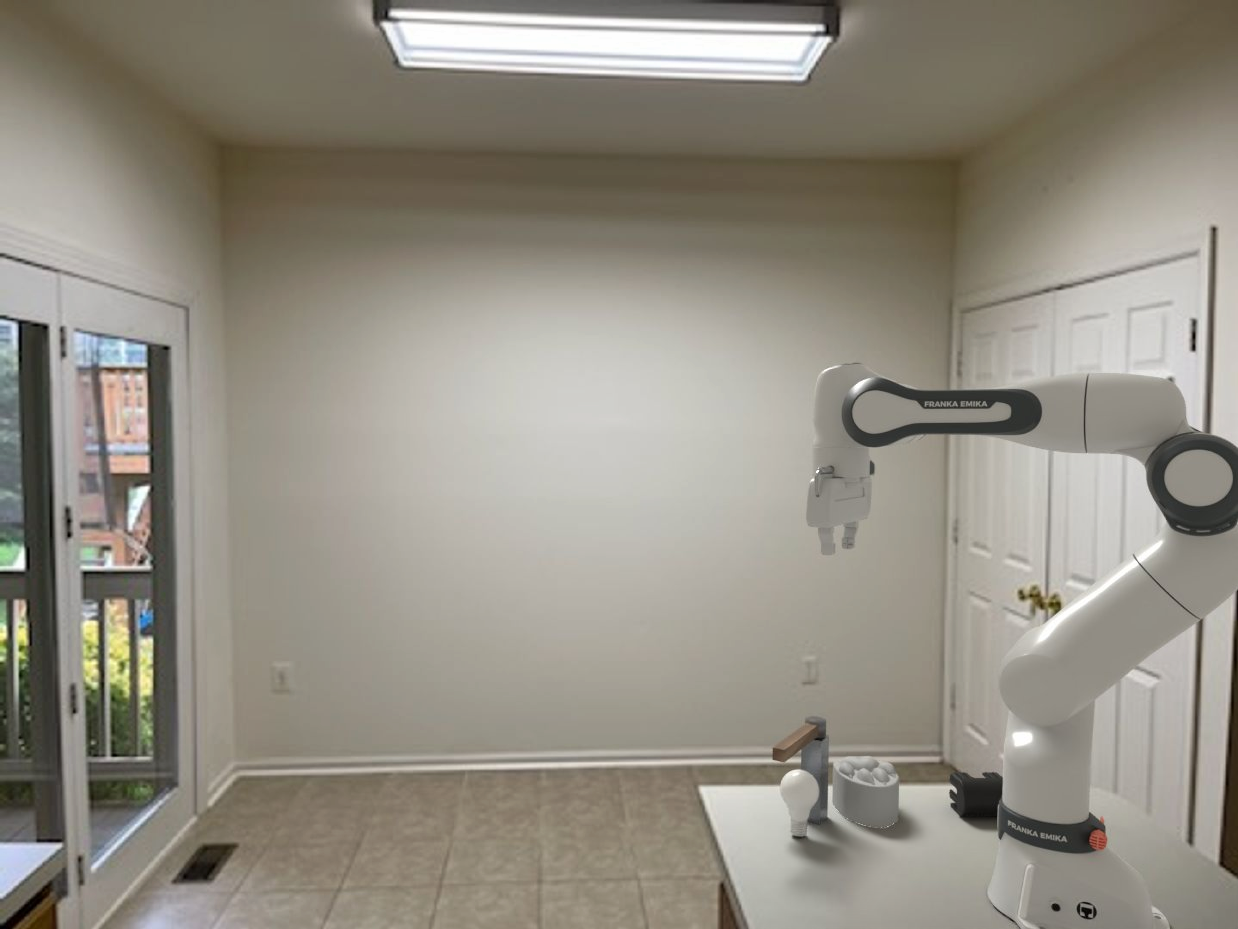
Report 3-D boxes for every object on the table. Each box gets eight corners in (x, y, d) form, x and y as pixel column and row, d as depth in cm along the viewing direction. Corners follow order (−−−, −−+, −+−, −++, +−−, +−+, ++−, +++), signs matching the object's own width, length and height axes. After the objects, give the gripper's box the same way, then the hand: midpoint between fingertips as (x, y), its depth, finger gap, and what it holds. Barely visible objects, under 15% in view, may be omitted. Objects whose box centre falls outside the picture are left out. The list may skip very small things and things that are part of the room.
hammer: (829, 733, 148) (829, 719, 148) (789, 765, 134) (789, 749, 134) (809, 729, 150) (809, 715, 150) (767, 760, 136) (768, 744, 136)
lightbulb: (815, 828, 144) (816, 764, 144) (820, 846, 138) (822, 779, 138) (777, 826, 145) (778, 762, 145) (781, 844, 139) (782, 777, 138)
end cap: (964, 824, 147) (965, 785, 147) (946, 806, 154) (947, 769, 154) (1020, 823, 147) (1021, 784, 147) (1000, 805, 154) (1001, 768, 154)
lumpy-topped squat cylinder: (881, 796, 158) (882, 750, 158) (910, 828, 145) (911, 778, 145) (826, 797, 157) (827, 751, 157) (851, 829, 144) (852, 779, 144)
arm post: (827, 817, 149) (829, 735, 148) (820, 824, 146) (821, 741, 145) (807, 811, 151) (809, 731, 150) (800, 819, 148) (801, 737, 147)
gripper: (836, 467, 126) (835, 560, 126) (878, 464, 143) (877, 547, 143) (796, 466, 129) (795, 557, 130) (842, 463, 146) (840, 544, 147)
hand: (838, 551), depth 137 cm, fingers open, 8 cm apart
